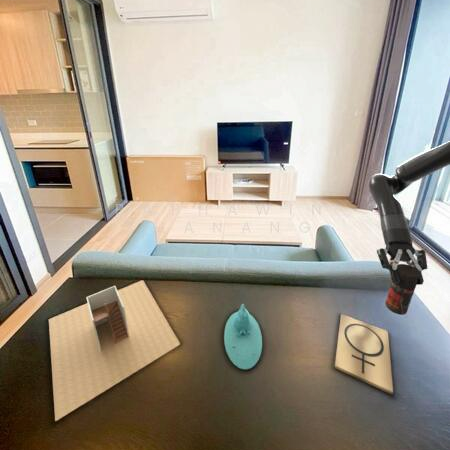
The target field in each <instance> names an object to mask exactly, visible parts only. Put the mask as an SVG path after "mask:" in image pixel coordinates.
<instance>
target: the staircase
mask: <svg viewBox="0 0 450 450" xmlns="http://www.w3.org/2000/svg"><path fill="white" fill-rule="evenodd" d="M85 298H86V299H85V300H86V303H87V306H88V310H89V314H90V318H91V322H92V326H93V330H94V334H95V338H96V342H97V346H98V349H99V351H100V352H101V351H102V347H101V343H100V339H99V335H98V331H97V327H96V326H98V325H100V324H102V323H104V322H107V321H108V322H109V326H110V329H111V333H112V337H113V342H114V343H115V344H116V343H117V342H119V341H121V340H123V339H125V338H127V337H129V336H130V330H129V325H128V320H127V314H126V309H125V305H124V303H123V301H122V298H121V296H120V293H119V291H118V289H117V286H116V285H113V286H110V287H107V288H105V289H103V290H100V291H97V292H96V293H93V294H90V295H88V296H86V297H85Z"/></svg>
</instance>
